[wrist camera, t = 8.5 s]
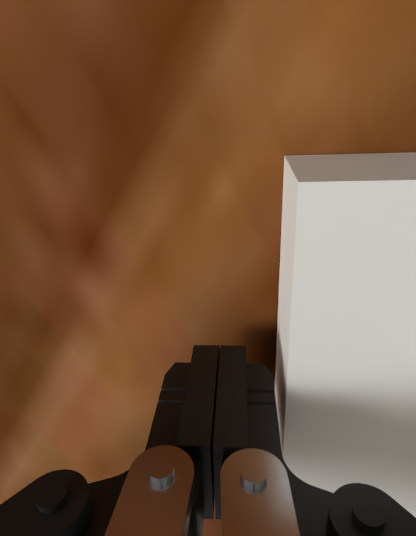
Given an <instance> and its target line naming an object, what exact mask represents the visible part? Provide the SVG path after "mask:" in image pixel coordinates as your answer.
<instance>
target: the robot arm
mask: <svg viewBox="0 0 416 536" xmlns="http://www.w3.org/2000/svg"><path fill="white" fill-rule="evenodd" d="M214 503H215V510H216V519H222V536H416V518H415V517H414V516H413V515H412V514H411V513H410V512H408V511H407V510H406V509H405V508H404V507H402V506H401V505H400V504H399V503H398V502H396V501H395V500H394V499H393V498H392V497H391V496H389V495H388V494H387V493H385V492H384V491H382V490H380V489H378V488H376V487H374V486H371V485H367V484H362V483H351V484H346V485H343V486H341V487H340V488H338V489H337V490H336V491H335V492H334V493H332V492H329V491H326V490H323V489H321V488H318V487H315V486H312V485H310V484H307V483H306V482H304V481H302V480H301V479H299V478H298V477H297V476H295V475H294V474H293V473H292V472H291V470H290V469H289V468H288V467H287V465H286V463H285V461H284V459H283V456H282V451H281V442H280V433H279V424H278V415H277V406H276V397H275V389H274V380H273V376H272V374H271V373H270V371H269V370H268V369H267V367H266V366H265V364H246V346H227V345H221V347H220V348H219V345H194V348H193V353H192V359H191V363H175V364H174V365H173V366H172V367H171V368H170V369H169V371H168V372H167V373H166V374H165V377H164V381H163V385H162V390H161V392H160V396H159V402H158V404H157V408H156V411H155V415H154V419H153V423H152V427H151V431H150V434H149V438H148V442H147V446H146V449H145V451H144V452H143V453H141V454H140V455H139V456H138V457H137V458H136V459H135V460H134V462H133V463H132V465H131V467H130V469H129V470H128V471H126V472H124V473H122V474H120V475H118V476H115V477H112V478H108V479H105V480H101V481H97V482H93V483H89V484H87V481H86V479H85V478H84V477H83V476H82V475H81V474H80V473H78V472H76V471H73V470H66V469H65V470H56V471H52V472H50V473H47V474H45V475H43V476H41V477H39V478H38V479H36V480H35V481H33V482H32V483H31V484H29V485H28V486H26V487H25V488H23V489H22V490H21V491H19V492H18V493H16V494H15V495H14V496H12V497H11V498H9V499H8V500H7V501H5V502H4V503H2V504H1V505H0V536H202V531H203V519H204V518H205V519H214Z"/></svg>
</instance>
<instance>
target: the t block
mask: <svg viewBox="0 0 416 536" xmlns="http://www.w3.org/2000/svg"><path fill="white" fill-rule="evenodd" d="M275 397H276V406H277V415H278V424H279V433H280V442H281V451H282V456H283V459H284V461H285V463H286V465H287V467H288V468H289V469H290V470H291V472H292V473H293V474H294V475H295V476H297V477H298V478H299V479H301V480H302V481H304V482H306V483H307V484H310V485H312V486H315V487H318V488H321V489H323V490H326V491H329V492H332V493H334V492H335V491H336V490H337V489H338V488H340V487H341V486H343V485H346V484H351V483H362V484H367V485H371V486H374V487H376V488H378V489H380V490H382V491H384V492H385V493H387V494H388V495H389V496H391V497H392V498H393V499H394V500H395V501H396V502H398V503H399V504H400V505H401V506H402V507H404V508H405V509H406V510H407V511H408V512H410V513H411V514H412V515H413V516H414V517H415V518H416V152H409V153H368V154H327V155H287V156H284V177H283V202H282V226H281V250H280V274H279V298H278V322H277V347H276V371H275Z"/></svg>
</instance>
